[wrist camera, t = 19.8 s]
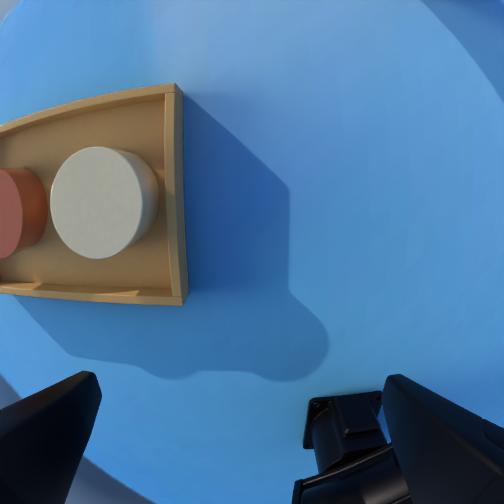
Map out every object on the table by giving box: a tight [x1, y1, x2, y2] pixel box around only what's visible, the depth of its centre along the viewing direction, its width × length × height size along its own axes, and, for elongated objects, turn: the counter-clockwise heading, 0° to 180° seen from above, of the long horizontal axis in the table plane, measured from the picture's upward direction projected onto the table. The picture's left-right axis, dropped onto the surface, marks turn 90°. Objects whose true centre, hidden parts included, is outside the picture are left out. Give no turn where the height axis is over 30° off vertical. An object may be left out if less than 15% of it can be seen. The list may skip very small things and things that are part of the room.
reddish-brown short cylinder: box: [0, 167, 48, 259], centre depth 17 cm, size 6×6×3 cm
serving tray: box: [0, 83, 189, 306], centre depth 18 cm, size 13×18×2 cm
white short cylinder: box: [50, 146, 160, 259], centre depth 17 cm, size 6×6×3 cm
